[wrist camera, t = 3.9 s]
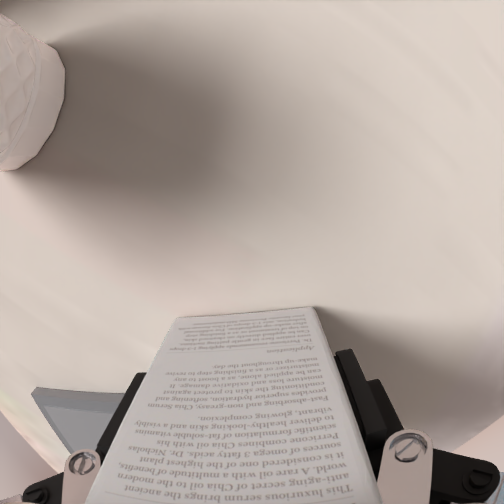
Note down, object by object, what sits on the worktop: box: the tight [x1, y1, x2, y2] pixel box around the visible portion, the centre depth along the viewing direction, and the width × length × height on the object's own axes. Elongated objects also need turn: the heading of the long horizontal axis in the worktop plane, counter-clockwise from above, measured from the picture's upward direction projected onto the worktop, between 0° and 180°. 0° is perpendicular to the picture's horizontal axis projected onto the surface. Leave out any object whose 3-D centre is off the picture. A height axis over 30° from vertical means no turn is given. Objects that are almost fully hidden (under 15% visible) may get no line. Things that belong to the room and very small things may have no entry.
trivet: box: [31, 387, 125, 454], centre depth 15 cm, size 12×12×1 cm
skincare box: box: [84, 307, 383, 504], centre depth 7 cm, size 6×4×12 cm
